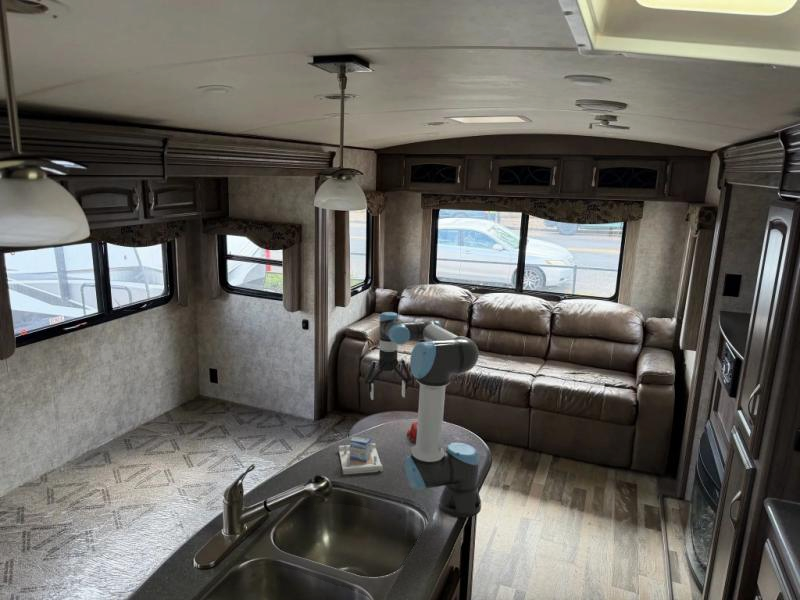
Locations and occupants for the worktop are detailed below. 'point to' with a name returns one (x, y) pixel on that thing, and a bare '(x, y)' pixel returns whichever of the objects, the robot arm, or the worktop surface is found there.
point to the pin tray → (359, 466)
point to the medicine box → (360, 449)
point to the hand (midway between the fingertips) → (387, 397)
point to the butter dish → (413, 431)
